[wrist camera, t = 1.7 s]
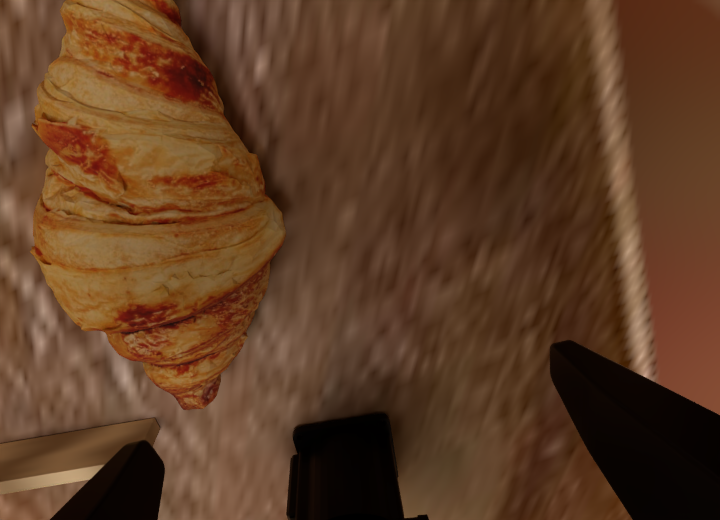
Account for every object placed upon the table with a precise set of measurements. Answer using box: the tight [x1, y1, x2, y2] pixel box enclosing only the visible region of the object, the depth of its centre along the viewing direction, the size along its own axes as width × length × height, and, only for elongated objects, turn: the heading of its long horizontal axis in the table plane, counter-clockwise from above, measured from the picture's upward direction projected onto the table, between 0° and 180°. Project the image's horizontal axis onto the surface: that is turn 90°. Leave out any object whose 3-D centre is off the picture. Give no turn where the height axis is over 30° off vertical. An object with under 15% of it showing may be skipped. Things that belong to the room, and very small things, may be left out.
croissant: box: [30, 0, 286, 410], centre depth 18 cm, size 21×10×8 cm, turn 179°
